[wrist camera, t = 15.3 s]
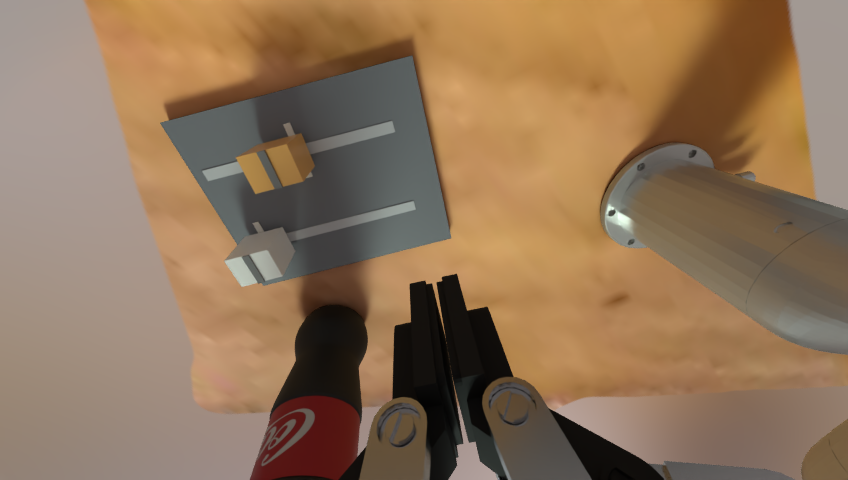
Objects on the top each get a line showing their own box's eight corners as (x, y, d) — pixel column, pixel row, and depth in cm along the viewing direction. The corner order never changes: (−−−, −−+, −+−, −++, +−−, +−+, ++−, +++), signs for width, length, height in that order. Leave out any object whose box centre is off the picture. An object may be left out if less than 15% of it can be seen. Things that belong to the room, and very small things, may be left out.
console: (411, 55, 26) (412, 55, 25) (449, 233, 35) (451, 238, 34) (168, 120, 27) (158, 123, 26) (266, 279, 36) (262, 286, 35)
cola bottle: (292, 305, 38) (86, 817, 12) (359, 292, 38) (298, 773, 12) (315, 351, 42) (199, 804, 16) (375, 339, 42) (356, 770, 16)
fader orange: (301, 133, 27) (285, 144, 23) (315, 165, 28) (302, 182, 24) (257, 144, 27) (234, 158, 23) (273, 176, 28) (254, 194, 24)
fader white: (282, 226, 31) (266, 251, 27) (295, 251, 32) (282, 277, 28) (244, 236, 31) (222, 262, 27) (259, 260, 33) (240, 288, 28)
